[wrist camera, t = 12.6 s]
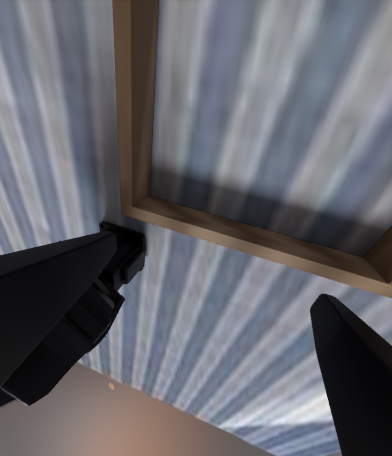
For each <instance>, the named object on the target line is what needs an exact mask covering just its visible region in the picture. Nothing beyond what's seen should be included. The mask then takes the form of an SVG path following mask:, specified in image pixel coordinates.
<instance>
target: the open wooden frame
mask: <svg viewBox="0 0 392 456" xmlns="http://www.w3.org/2000/svg"><path fill="white" fill-rule="evenodd" d="M112 1H113V25H114V49H115V72H116V96H117V119H118V143H119V167H120V190H121V214H122V215H125V216H128V217H132V218H135V219H138V220H141V221H144V222H148V223H151V224H154V225H157V226H161V227H164V228H167V229H170V230H173V231H177V232H180V233H183V234H186V235H190V236H193V237H196V238H199V239H202V240H206V241H209V242H212V243H215V244H219V245H222V246H225V247H228V248H231V249H235V250H238V251H241V252H244V253H247V254H251V255H254V256H257V257H260V258H264V259H267V260H270V261H273V262H276V263H280V264H283V265H286V266H289V267H293V268H296V269H299V270H302V271H305V272H309V273H312V274H315V275H318V276H322V277H325V278H328V279H331V280H334V281H338V282H341V283H344V284H347V285H351V286H354V287H357V288H360V289H363V290H367V291H370V292H373V293H376V294H379V295H383V296H386V297H389V298H392V227H391V228H390V229H389V230H388V231H387V232H386V233H385V234H384V236H383V237H382V238H381V239H380V240H379V241H378V242H377V243H376V244H375V246H374V247H373V248H372V249H371V250H370V251H369V252H368V253H367V254H366V256H365V257H364V258H363V257H359V256H356V255H352V254H349V253H345V252H342V251H338V250H335V249H331V248H328V247H324V246H321V245H317V244H314V243H310V242H307V241H303V240H300V239H296V238H293V237H289V236H286V235H282V234H279V233H276V232H272V231H269V230H265V229H262V228H258V227H255V226H251V225H248V224H244V223H241V222H237V221H234V220H230V219H227V218H223V217H220V216H216V215H213V214H209V213H206V212H202V211H199V210H195V209H192V208H188V207H185V206H181V205H178V204H175V203H171V202H168V201H164V200H161V199H157V198H154V197H150V177H151V156H152V135H153V115H154V94H155V74H156V53H157V32H158V12H159V0H112Z"/></svg>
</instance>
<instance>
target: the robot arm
mask: <svg viewBox="0 0 392 456" xmlns="http://www.w3.org/2000/svg"><path fill="white" fill-rule="evenodd" d="M99 227H100V232H99V233H95V234H90V235H86V236H82V237H77V238H73V239H69V240H64V241H59V242H56V243H51V244H47V245H43V246H39V247H34V248H30V249H26V250H21V251H17V252H13V253H8V254H4V255H0V408H2V407H4V406H6V405H8V404H10V403H12V402H14V401H17V400H18V401H20V402H21V403H23V404H24V405H26V406H30V405H31V404H33V403H35V402H36V401H38V400H39V399H41V398H43V397H44V396H46V395H47V394H48V393H49V392H50V391H51V390H52V389H53V388H54V387H55V385H56V384H57V383H58V382H59V381H60V380H61V379H62V377H63V376H64V375H65V374H66V373H67V372H68V371H69V369H70V368H71V367H72V366H73V365H74V364H75V363H76V362H77V361H78V360H79V359H80V358H81V357H82V356H84V355H85V354H87V353H88V352H90V351H91V350H92V349H93V348H95V347H96V346H97V345H98V344H99V343H100V342H101V340H102V339H103V338H104V337H105V335H106V334H107V333H108V331H109V329H110V328H111V326H112V324H113V322H114V320H115V318H116V316H117V314H118V312H119V310H120V308H121V306H122V304H123V302H124V300H125V298H124V297H123V296H122V295H120V294H119V293H118V290H119V289H120V287H121V286H122V285H123V284H128V283H129V282H130V281H131V279H132V278H133V277H134V276H135V275H136V273H137V272H138V271H142V269H143V265H144V260H145V250H144V235H143V234H141V233H138V232H135V231H132V230H129V229H126V228H123V227H120V226H116V225H113V224H110V223H107V222H104V221H103V222H101V223H100V224H99ZM140 237H141V238H140ZM310 314H311V321H312V328H313V335H314V341H315V348H316V353H317V358H318V362H319V366H320V370H321V374H322V378H323V382H324V385H325V389H326V393H327V397H328V401H329V405H330V409H331V413H332V417H333V421H334V425H335V429H336V433H337V437H338V441H339V445H340V449H341V452H342V456H392V346H391V345H390V344H389V343H388V342H387V341H386V340H384V339H383V338H382V337H381V336H380V335H379V334H378V333H376V332H375V331H374V330H373V329H372V328H371V327H369V326H368V325H367V324H366V323H365V322H364V321H362V320H361V319H360V318H359V317H358V316H357V315H355V314H354V313H353V312H352V311H351V310H350V309H349V308H347V307H346V306H345V305H344V304H343V303H342V302H340V301H339V300H338V299H337V298H336V297H334V296H331V295H327V294H321V295H319V297H318V298H317V299H316V301H315V302H314V303H313V305H312V306H311V309H310Z"/></svg>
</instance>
